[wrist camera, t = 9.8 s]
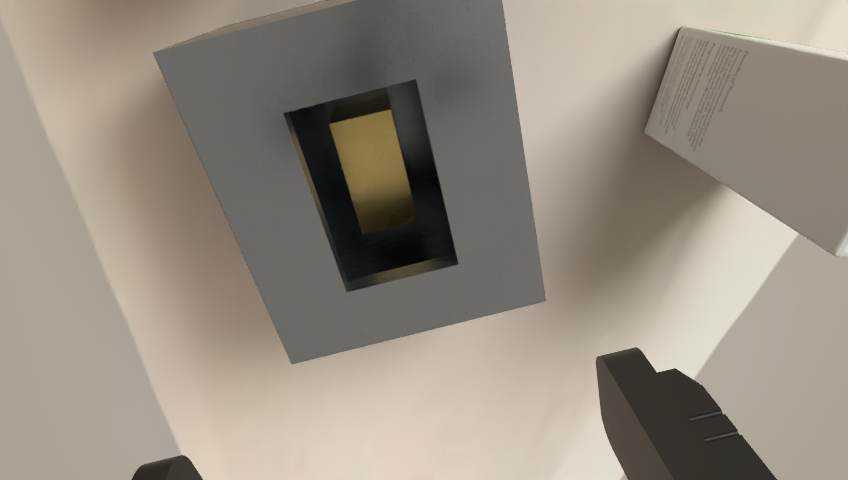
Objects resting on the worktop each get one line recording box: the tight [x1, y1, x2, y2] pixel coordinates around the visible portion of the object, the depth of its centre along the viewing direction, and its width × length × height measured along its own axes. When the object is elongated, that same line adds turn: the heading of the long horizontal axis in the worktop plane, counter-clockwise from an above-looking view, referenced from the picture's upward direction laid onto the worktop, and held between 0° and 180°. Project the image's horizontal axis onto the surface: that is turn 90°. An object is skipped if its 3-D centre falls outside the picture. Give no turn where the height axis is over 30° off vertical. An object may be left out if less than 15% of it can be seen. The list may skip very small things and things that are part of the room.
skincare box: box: [644, 26, 848, 257], centre depth 24 cm, size 8×7×16 cm
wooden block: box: [329, 95, 418, 234], centre depth 28 cm, size 3×6×4 cm, turn 12°
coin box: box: [153, 0, 546, 364], centre depth 26 cm, size 12×14×10 cm
